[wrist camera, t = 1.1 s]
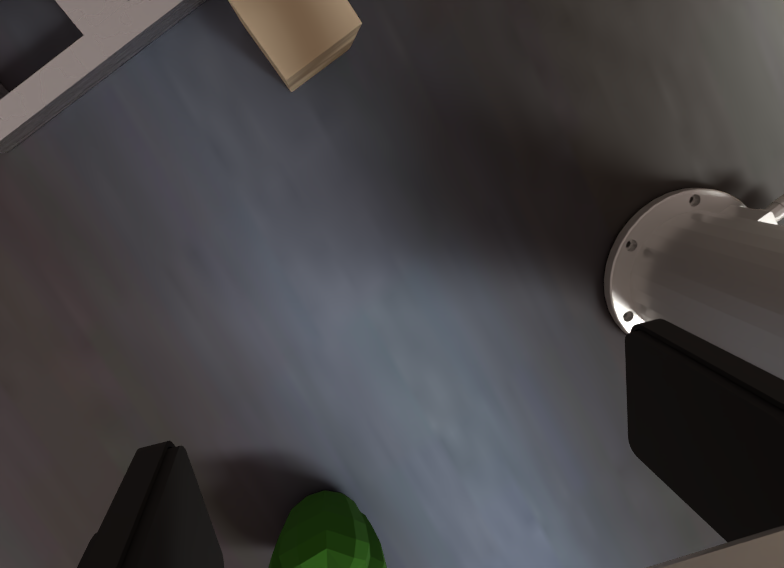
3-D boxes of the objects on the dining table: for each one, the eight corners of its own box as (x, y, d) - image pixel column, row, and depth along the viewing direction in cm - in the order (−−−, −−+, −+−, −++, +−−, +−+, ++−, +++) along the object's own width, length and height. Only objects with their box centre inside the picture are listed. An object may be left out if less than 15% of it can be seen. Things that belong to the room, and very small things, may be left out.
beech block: (304, -20, 31) (302, -70, 23) (349, 48, 32) (362, 23, 25) (244, 26, 31) (223, -8, 23) (291, 92, 32) (286, 80, 25)
